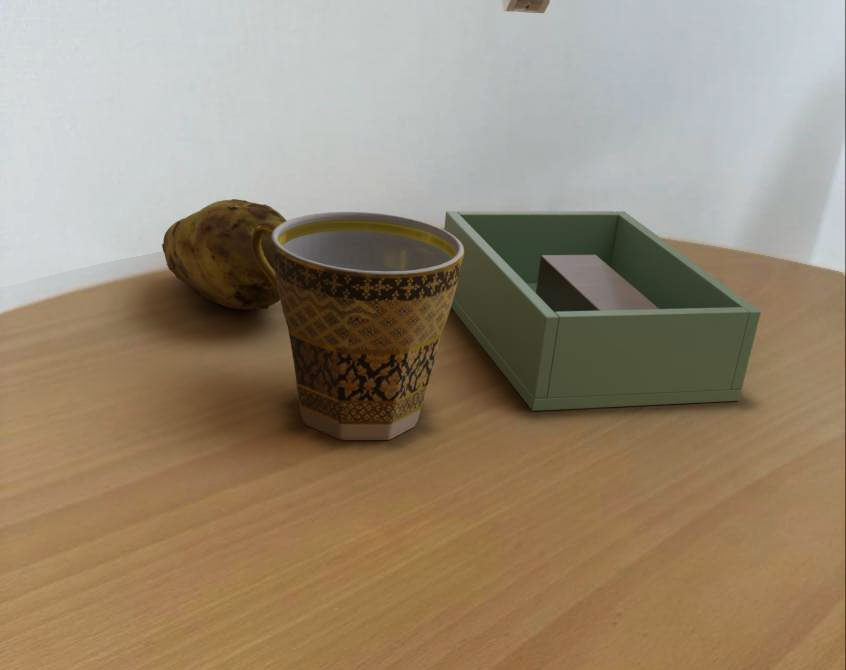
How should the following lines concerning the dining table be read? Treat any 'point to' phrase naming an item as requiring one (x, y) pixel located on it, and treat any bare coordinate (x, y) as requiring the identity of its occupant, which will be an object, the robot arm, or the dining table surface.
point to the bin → (599, 314)
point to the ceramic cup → (362, 314)
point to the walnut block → (585, 285)
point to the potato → (223, 253)
